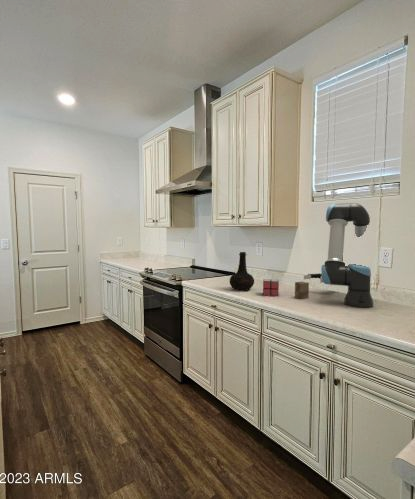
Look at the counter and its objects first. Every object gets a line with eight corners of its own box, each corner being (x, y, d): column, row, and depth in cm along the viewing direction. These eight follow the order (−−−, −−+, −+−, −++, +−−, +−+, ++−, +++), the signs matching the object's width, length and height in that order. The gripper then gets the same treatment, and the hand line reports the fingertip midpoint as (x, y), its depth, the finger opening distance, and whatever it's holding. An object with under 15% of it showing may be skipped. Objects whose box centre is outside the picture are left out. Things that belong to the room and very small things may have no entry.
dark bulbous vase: (224, 289, 220) (224, 252, 218) (239, 286, 233) (240, 250, 231) (243, 293, 208) (244, 253, 206) (258, 289, 220) (259, 251, 219)
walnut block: (308, 298, 192) (308, 282, 191) (302, 299, 189) (302, 283, 188) (301, 296, 197) (301, 281, 196) (294, 297, 194) (295, 282, 193)
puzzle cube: (278, 296, 197) (278, 281, 196) (263, 295, 199) (263, 281, 198) (277, 293, 207) (278, 279, 206) (263, 292, 209) (263, 278, 208)
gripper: (348, 283, 199) (328, 287, 188) (317, 278, 220) (297, 281, 209) (349, 272, 198) (328, 275, 187) (317, 268, 219) (297, 271, 208)
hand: (312, 278), depth 198 cm, fingers open, 13 cm apart
